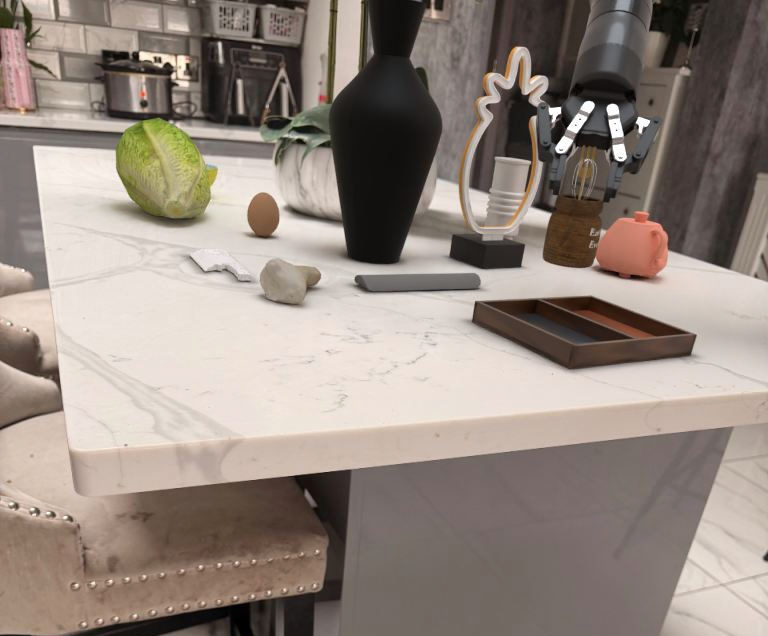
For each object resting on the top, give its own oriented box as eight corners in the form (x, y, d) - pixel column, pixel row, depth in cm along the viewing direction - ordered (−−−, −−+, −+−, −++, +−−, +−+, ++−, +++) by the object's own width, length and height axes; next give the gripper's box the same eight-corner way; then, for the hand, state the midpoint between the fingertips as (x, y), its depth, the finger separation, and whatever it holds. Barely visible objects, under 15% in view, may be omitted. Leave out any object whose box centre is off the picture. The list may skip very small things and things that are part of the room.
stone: (303, 308, 93) (304, 267, 90) (253, 302, 93) (253, 261, 91) (320, 287, 103) (322, 250, 100) (275, 282, 103) (275, 245, 101)
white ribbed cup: (516, 248, 146) (531, 163, 138) (480, 243, 146) (493, 158, 139) (517, 242, 151) (532, 160, 144) (482, 238, 152) (495, 155, 145)
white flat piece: (213, 281, 100) (213, 272, 99) (189, 255, 111) (189, 248, 111) (251, 280, 102) (251, 271, 101) (223, 255, 113) (223, 248, 113)
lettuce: (223, 250, 134) (129, 255, 130) (203, 184, 150) (118, 187, 145) (219, 166, 123) (116, 168, 119) (198, 104, 139) (106, 104, 134)
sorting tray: (586, 314, 105) (591, 295, 104) (690, 355, 92) (697, 334, 91) (471, 321, 96) (474, 300, 94) (570, 369, 83) (575, 345, 81)
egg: (241, 235, 128) (241, 191, 125) (255, 231, 133) (256, 188, 130) (270, 240, 127) (271, 196, 124) (284, 236, 132) (285, 193, 128)
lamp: (503, 254, 138) (538, 52, 123) (537, 266, 132) (579, 54, 117) (431, 257, 129) (459, 39, 114) (464, 269, 123) (498, 40, 108)
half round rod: (351, 284, 106) (352, 271, 105) (466, 282, 115) (467, 270, 114) (365, 292, 103) (366, 279, 102) (482, 289, 112) (484, 276, 111)
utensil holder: (541, 264, 85) (563, 146, 79) (541, 254, 90) (562, 142, 84) (594, 271, 84) (621, 153, 78) (591, 261, 90) (616, 149, 84)
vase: (386, 245, 134) (410, 9, 117) (446, 268, 122) (482, 9, 105) (301, 247, 125) (313, -9, 108) (357, 272, 113) (380, -11, 96)
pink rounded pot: (632, 265, 142) (646, 207, 137) (683, 284, 131) (702, 222, 126) (578, 264, 138) (591, 204, 133) (627, 284, 127) (644, 219, 122)
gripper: (549, 33, 84) (518, 159, 80) (682, 47, 82) (658, 178, 77) (542, 89, 91) (513, 207, 87) (664, 103, 89) (641, 226, 84)
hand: (581, 193), depth 82 cm, fingers closed on utensil holder, 5 cm apart
